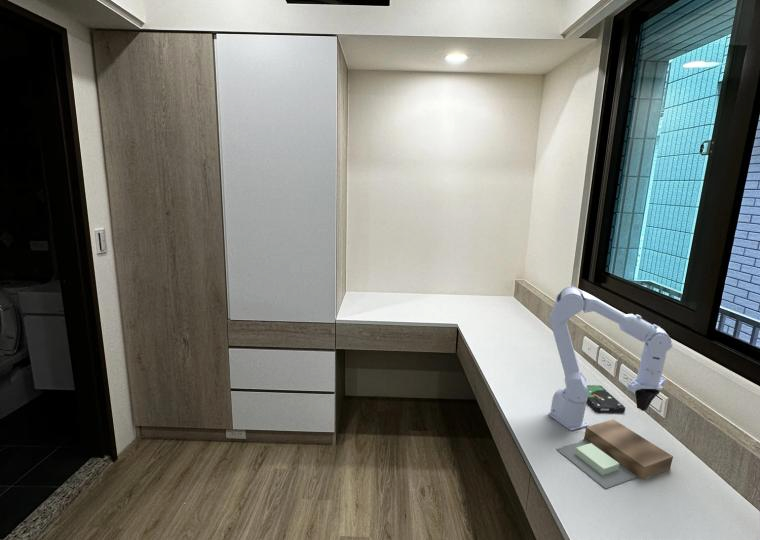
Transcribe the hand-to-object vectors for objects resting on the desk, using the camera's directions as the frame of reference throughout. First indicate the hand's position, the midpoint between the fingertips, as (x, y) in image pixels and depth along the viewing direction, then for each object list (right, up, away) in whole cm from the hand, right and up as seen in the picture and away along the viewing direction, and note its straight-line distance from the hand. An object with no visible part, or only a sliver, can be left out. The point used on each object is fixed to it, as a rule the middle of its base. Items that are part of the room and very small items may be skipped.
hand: (641, 408), depth 122 cm
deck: (-8, -11, -5) cm, 15 cm away
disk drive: (-1, -6, +22) cm, 23 cm away
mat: (-19, -12, -10) cm, 25 cm away
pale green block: (-19, -9, -10) cm, 24 cm away
